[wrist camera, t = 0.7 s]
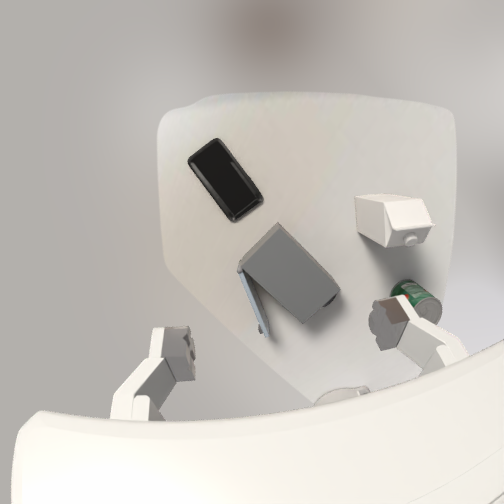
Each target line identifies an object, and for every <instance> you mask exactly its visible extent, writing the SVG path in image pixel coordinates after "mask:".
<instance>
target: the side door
mask: <svg viewBox="0 0 504 504" xmlns="http://www.w3.org/2000/svg"><path fill="white" fill-rule="evenodd" d="M241 263H242V260H240V261H239V265H238V269H237V273H238V274H239V276H240V279H241V281H242V284H243V286H244V288H245V291H246V293H247V296H248V298H249V300H250V303H251V305H252V307H253V310H254V312H255V315H256V317H257V319H258V322H259V329H258V330H259V332H260V334H262V333H264V336H265V338H266V337H269V322H268V320H267V317H266V315H265V312H264V310H263V307H262V305H261V302H260V300H259V297H258V295H257V293H256V290H255V288H254V285H253V283H252V280H251V278H250V275H249V274H248V273H247V272H246V271H245V270H243V269H242V268H241Z"/></svg>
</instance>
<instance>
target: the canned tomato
mask: <svg viewBox="0 0 504 504" xmlns="http://www.w3.org/2000/svg"><path fill="white" fill-rule="evenodd" d="M399 295H404V296H405V297H406V298H407V300H408V301H409V303H410V304H411V306H412V307H413V308H414V310H415V311H416V313H417V315H418V316H419V318H424V319H426V320H428V321H429V322H431V323H433V324H435V325H437V323H438V322H439V320H440V318H441V315H442V305H441V302H440V301H439V300H438V299H437V298H435V297H434V296H433V295H431V294H430V293H429V292H427V291H426V290H425V289H423V288H422V287H421V286H419V285H418V284H416V283H415V282H414V281H412V280H403V281H400V282H399V283H397V284H396V285H395V286H394V288H393V289H392V291H391V294H390V297H394V296H399Z"/></svg>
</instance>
